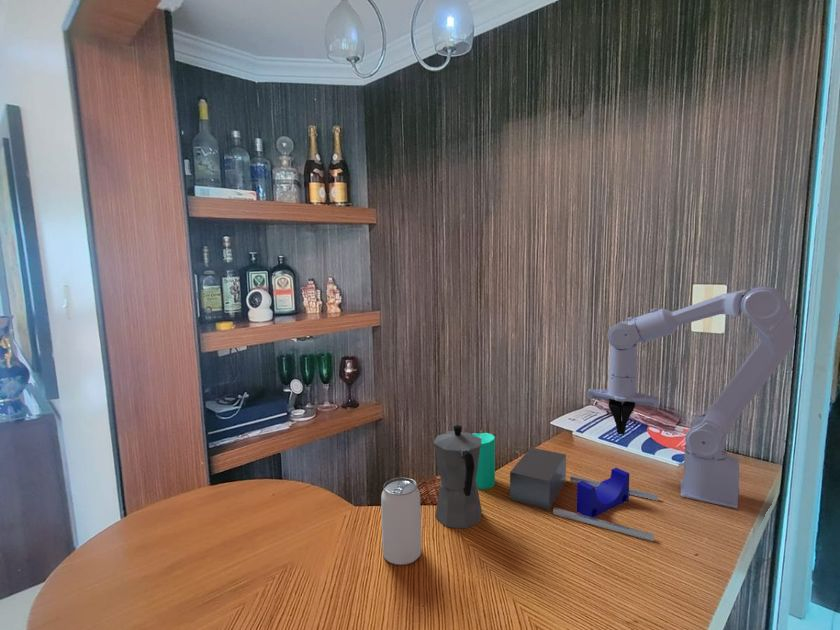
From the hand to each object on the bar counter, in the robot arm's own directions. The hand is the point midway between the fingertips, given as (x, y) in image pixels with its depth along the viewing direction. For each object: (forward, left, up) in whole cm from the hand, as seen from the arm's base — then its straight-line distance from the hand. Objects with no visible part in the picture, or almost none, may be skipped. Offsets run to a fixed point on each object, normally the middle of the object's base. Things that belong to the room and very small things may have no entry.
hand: (621, 432), depth 98 cm
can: (+28, +49, -10) cm, 57 cm away
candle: (+26, +20, -10) cm, 34 cm away
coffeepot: (+24, +35, -10) cm, 44 cm away
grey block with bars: (+6, +17, -9) cm, 20 cm away
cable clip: (+2, +17, -10) cm, 19 cm away
